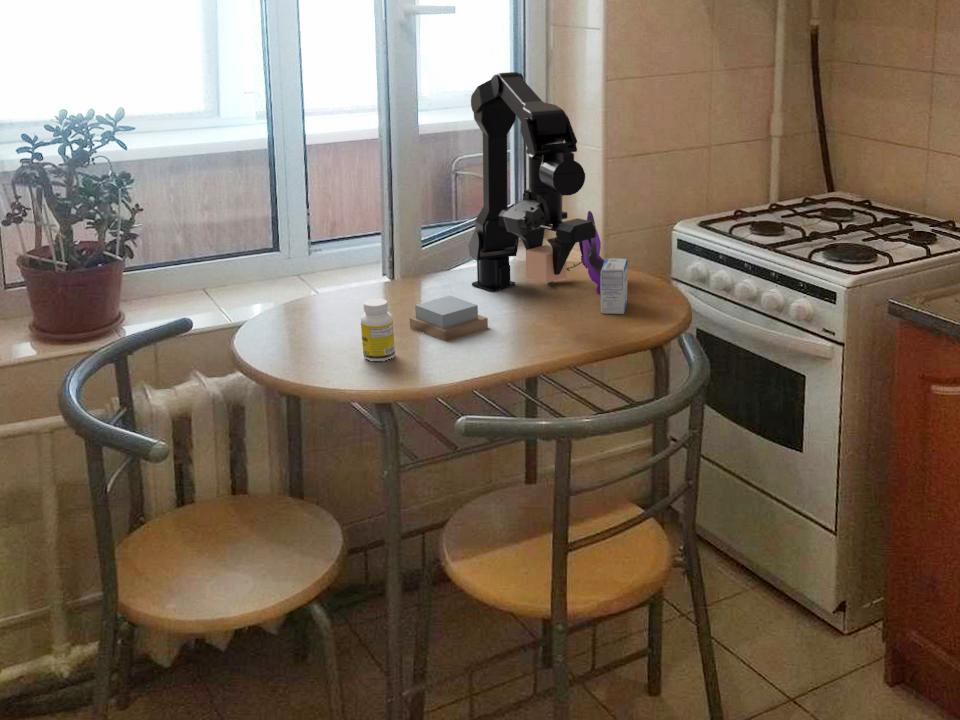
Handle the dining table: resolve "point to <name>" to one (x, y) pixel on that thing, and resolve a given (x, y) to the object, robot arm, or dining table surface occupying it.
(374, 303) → the supplement bottle
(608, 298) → the medicine box
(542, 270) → the terracotta cube
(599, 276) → the flower
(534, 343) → the dining table surface
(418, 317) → the top block
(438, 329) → the bottom block
